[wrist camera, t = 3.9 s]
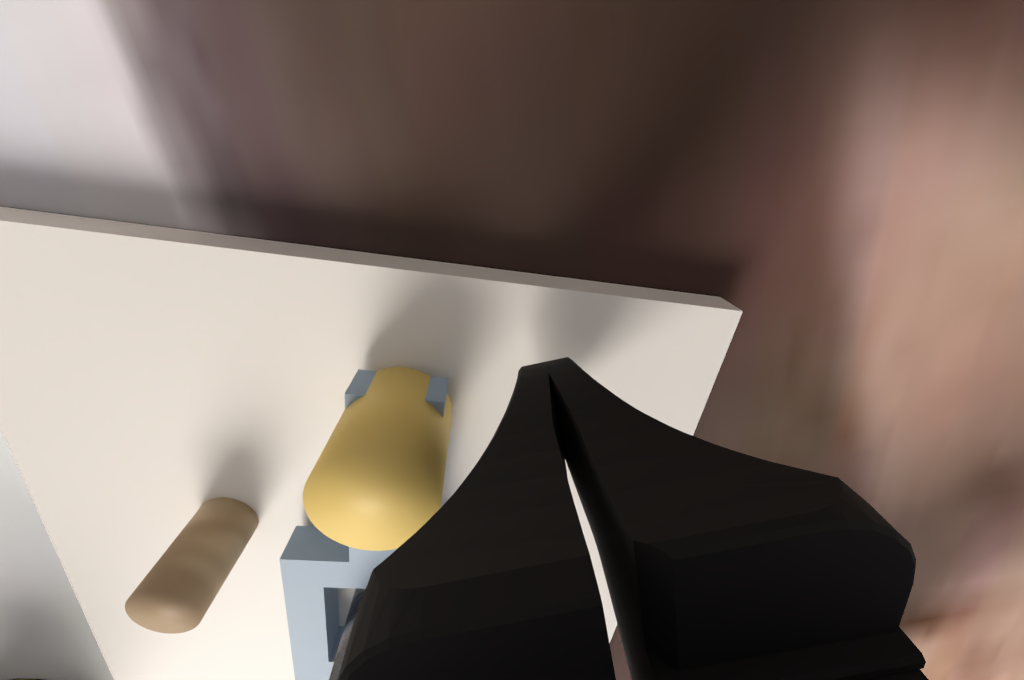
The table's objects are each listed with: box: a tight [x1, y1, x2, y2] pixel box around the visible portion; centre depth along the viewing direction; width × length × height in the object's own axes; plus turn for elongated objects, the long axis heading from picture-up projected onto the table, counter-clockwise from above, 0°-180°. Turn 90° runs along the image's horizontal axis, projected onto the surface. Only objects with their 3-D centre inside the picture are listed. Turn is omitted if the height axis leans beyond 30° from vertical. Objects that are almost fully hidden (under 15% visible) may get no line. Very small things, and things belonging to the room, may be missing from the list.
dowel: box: [125, 497, 259, 634], centre depth 13 cm, size 2×2×4 cm
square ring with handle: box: [279, 367, 452, 680], centre depth 12 cm, size 13×6×3 cm, turn 172°
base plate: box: [0, 207, 743, 680], centre depth 15 cm, size 20×22×1 cm
